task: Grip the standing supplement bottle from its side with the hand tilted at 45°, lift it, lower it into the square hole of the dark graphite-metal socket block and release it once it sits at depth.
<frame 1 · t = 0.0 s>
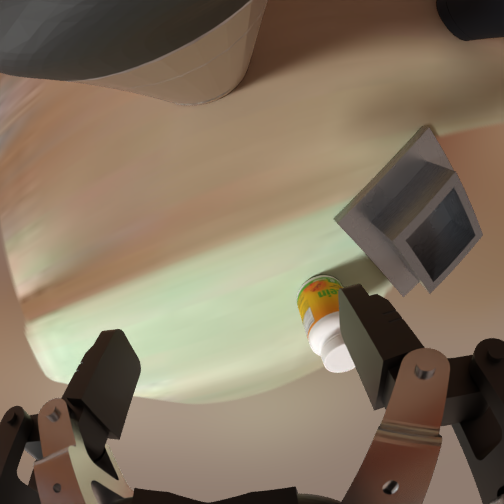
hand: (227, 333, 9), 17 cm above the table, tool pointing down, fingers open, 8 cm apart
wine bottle: (454, 17, 16), on the table
supplement bottle: (318, 293, 30), on the table
square socket: (414, 216, 27), on the table
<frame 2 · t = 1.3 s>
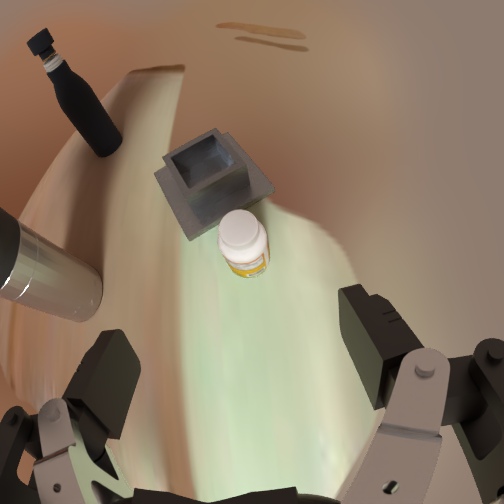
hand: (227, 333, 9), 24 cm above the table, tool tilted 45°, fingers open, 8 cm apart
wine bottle: (109, 146, 49), on the table
supplement bottle: (249, 260, 37), on the table
square socket: (210, 182, 42), on the table
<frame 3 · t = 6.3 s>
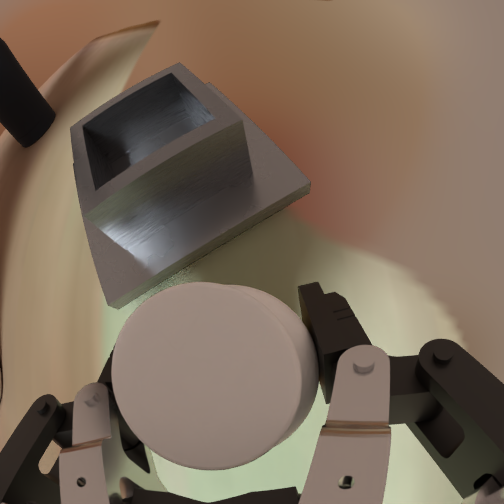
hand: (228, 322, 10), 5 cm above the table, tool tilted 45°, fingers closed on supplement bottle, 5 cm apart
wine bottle: (39, 130, 26), on the table
supplement bottle: (252, 365, 14), on the table, touching gripper
square socket: (169, 175, 19), on the table
when the fingers open (7 cm above the table, at t = 13.0 s): supplement bottle drops 1 cm, resting on square socket.
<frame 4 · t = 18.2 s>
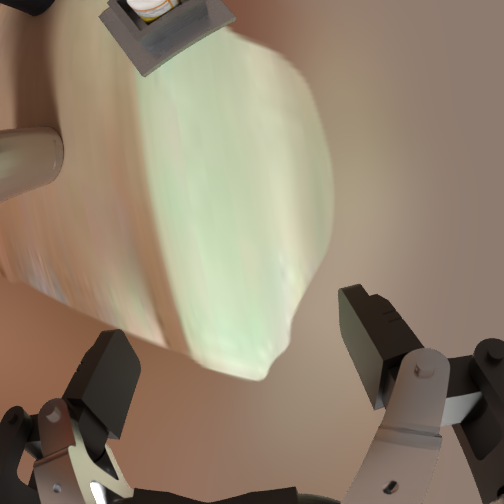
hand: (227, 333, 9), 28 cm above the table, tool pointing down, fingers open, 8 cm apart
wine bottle: (44, 1, 20), on the table
supplement bottle: (163, 12, 24), point 1 cm above the table, touching square socket
square socket: (163, 15, 25), on the table
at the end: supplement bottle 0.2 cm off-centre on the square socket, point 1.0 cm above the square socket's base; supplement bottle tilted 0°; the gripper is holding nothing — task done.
